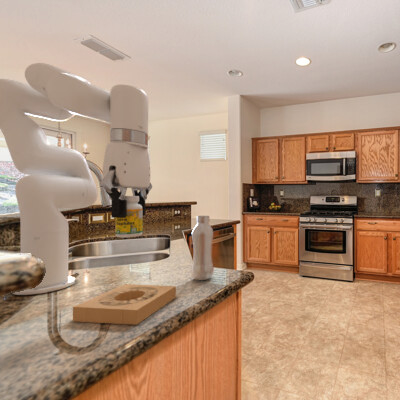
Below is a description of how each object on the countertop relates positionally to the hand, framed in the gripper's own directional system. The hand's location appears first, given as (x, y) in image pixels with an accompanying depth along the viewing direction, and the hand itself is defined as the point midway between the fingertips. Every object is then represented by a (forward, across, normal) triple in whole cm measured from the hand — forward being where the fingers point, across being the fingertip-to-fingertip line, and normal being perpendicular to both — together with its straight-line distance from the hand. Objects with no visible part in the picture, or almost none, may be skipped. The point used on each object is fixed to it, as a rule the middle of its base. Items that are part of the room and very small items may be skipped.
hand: (129, 215), depth 60 cm
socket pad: (+21, +2, +2) cm, 22 cm away
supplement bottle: (+5, 0, 0) cm, 5 cm away
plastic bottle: (+22, -20, +9) cm, 31 cm away
